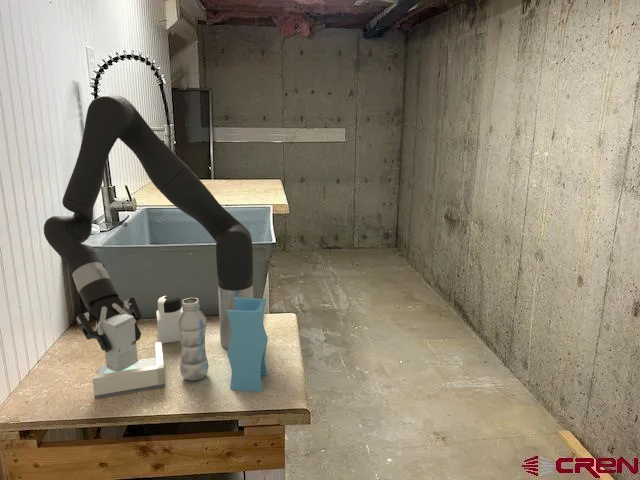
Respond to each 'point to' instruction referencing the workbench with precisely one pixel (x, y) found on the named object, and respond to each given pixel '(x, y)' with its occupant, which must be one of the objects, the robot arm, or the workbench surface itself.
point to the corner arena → (131, 377)
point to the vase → (247, 344)
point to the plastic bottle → (192, 341)
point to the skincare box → (120, 342)
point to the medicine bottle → (168, 318)
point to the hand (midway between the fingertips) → (123, 344)
